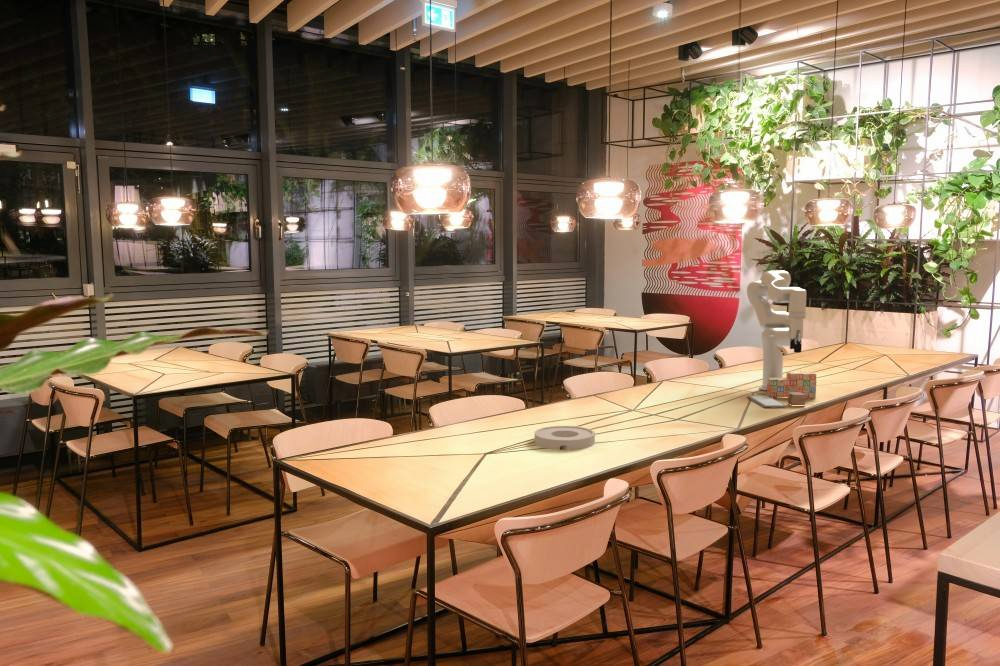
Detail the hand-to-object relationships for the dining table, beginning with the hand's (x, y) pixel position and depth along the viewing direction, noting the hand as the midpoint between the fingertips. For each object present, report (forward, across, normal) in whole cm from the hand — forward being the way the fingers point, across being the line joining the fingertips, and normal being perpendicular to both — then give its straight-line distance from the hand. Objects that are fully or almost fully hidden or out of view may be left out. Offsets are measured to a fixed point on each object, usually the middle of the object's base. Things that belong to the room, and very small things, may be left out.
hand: (795, 350), depth 369 cm
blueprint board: (+23, +11, -14) cm, 29 cm away
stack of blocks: (+24, -3, 0) cm, 24 cm away
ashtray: (+22, +96, -101) cm, 141 cm away
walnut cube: (+23, +16, -2) cm, 28 cm away
